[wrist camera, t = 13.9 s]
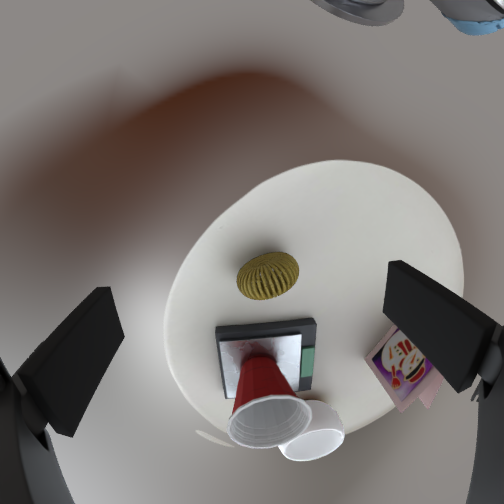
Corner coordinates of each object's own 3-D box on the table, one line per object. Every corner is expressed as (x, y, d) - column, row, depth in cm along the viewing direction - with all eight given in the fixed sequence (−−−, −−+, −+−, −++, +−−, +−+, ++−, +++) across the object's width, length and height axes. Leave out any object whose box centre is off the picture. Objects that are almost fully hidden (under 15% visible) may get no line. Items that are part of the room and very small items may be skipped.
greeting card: (401, 309, 42) (451, 353, 28) (420, 324, 44) (466, 366, 30) (361, 357, 44) (398, 412, 30) (383, 369, 46) (419, 418, 32)
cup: (321, 426, 49) (333, 458, 40) (267, 428, 48) (273, 464, 38) (340, 387, 46) (357, 422, 37) (279, 389, 45) (289, 428, 35)
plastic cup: (303, 379, 41) (322, 432, 29) (242, 400, 41) (248, 456, 30) (281, 331, 38) (300, 387, 26) (213, 357, 38) (210, 416, 27)
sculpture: (241, 287, 39) (245, 314, 31) (231, 262, 38) (232, 284, 30) (294, 267, 39) (310, 289, 31) (286, 241, 37) (300, 258, 30)
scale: (215, 326, 40) (215, 336, 37) (313, 317, 41) (318, 326, 38) (225, 391, 44) (225, 402, 41) (308, 382, 45) (312, 392, 42)
